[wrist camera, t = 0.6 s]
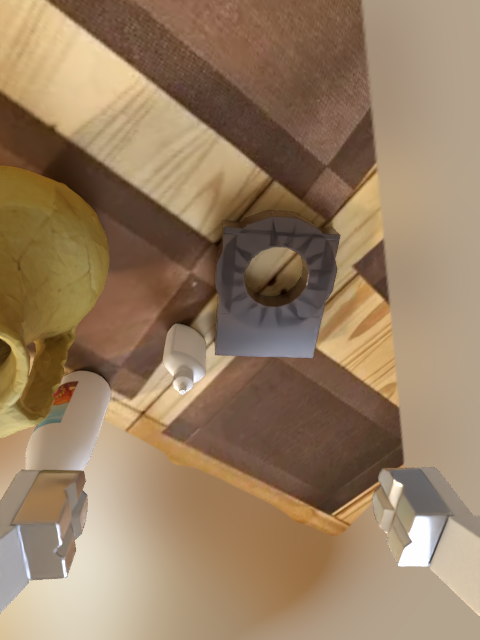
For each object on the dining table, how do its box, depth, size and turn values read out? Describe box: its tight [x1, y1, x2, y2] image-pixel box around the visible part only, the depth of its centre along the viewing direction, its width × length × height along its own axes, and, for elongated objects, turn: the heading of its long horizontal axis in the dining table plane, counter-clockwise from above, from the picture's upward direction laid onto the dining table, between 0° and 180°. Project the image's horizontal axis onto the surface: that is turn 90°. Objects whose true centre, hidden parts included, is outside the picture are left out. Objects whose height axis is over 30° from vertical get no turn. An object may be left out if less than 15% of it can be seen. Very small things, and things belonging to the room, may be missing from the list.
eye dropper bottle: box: [163, 324, 206, 395], centre depth 48 cm, size 4×6×12 cm
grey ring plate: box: [215, 210, 340, 358], centre depth 49 cm, size 20×15×3 cm
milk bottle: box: [25, 371, 111, 470], centre depth 48 cm, size 8×8×20 cm
